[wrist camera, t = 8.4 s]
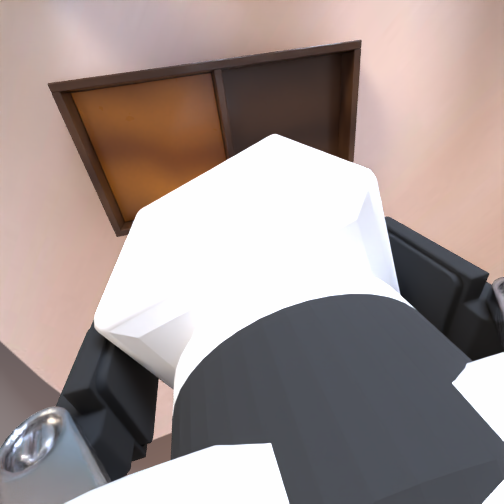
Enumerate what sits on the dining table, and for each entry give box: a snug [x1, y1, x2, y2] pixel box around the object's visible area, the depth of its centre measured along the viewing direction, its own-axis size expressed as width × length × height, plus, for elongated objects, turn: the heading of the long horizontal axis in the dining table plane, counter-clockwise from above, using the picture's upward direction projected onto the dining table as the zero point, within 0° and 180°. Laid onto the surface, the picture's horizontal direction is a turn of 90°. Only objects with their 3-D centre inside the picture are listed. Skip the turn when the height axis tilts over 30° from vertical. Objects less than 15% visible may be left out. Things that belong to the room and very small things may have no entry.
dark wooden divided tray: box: [48, 40, 361, 237], centre depth 25 cm, size 13×25×3 cm, turn 98°
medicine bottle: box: [94, 134, 504, 504], centre depth 8 cm, size 7×7×12 cm
